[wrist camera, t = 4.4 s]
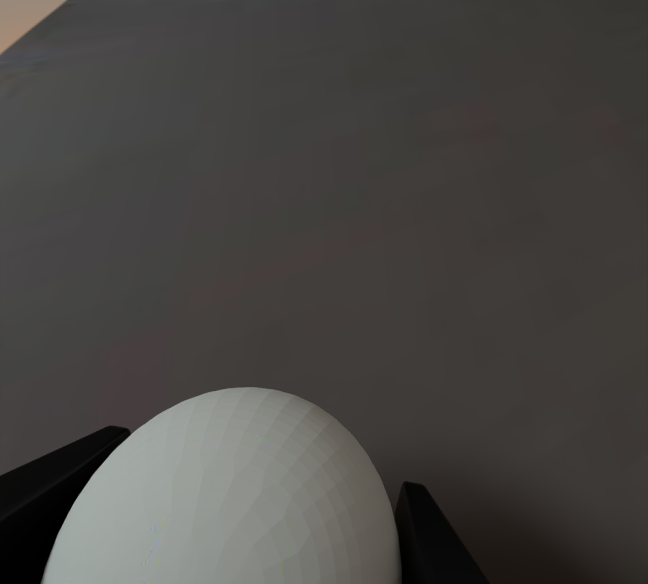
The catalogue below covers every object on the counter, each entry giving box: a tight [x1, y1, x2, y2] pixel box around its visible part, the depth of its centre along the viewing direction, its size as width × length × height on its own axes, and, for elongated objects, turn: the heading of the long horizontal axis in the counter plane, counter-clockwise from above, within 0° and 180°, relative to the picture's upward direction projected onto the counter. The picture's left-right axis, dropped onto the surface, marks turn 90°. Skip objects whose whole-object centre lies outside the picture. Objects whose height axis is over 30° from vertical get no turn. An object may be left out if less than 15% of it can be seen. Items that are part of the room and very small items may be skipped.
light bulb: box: [41, 387, 402, 584], centre depth 8 cm, size 6×6×10 cm
